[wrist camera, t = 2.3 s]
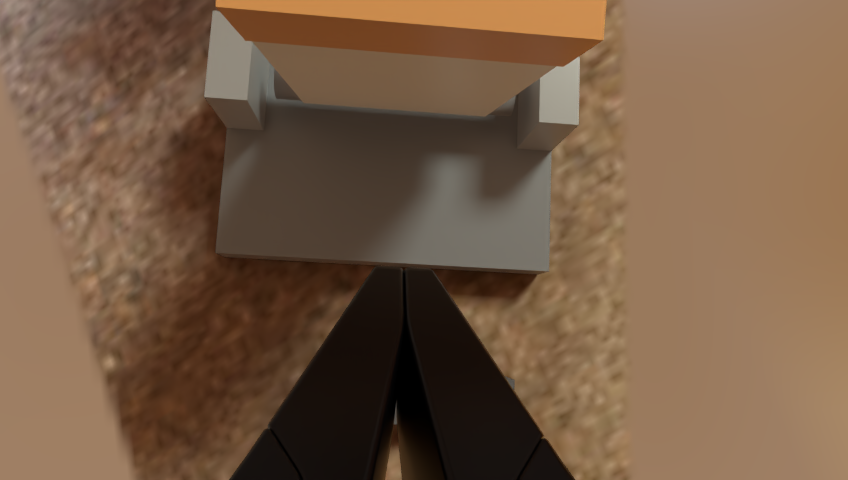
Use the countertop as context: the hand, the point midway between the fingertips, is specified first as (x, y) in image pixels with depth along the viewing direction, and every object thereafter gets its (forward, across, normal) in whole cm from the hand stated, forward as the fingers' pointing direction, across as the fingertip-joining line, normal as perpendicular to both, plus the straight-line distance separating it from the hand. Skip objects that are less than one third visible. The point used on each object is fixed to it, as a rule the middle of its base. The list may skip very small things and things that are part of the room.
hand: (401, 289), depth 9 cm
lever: (+10, 0, +1) cm, 10 cm away
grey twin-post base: (+12, 0, +3) cm, 12 cm away
